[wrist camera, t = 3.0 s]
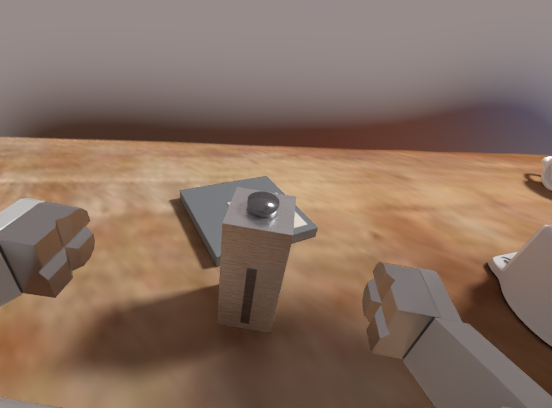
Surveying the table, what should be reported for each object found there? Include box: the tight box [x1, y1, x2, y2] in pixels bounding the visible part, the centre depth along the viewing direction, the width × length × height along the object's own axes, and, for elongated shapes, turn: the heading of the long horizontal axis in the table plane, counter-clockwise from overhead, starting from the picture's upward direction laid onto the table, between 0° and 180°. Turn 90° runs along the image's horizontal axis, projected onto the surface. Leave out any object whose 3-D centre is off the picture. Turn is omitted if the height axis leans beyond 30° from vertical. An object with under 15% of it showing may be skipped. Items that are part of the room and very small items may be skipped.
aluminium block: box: [217, 187, 296, 333], centre depth 26 cm, size 5×5×13 cm
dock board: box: [180, 176, 318, 267], centre depth 40 cm, size 14×14×2 cm
